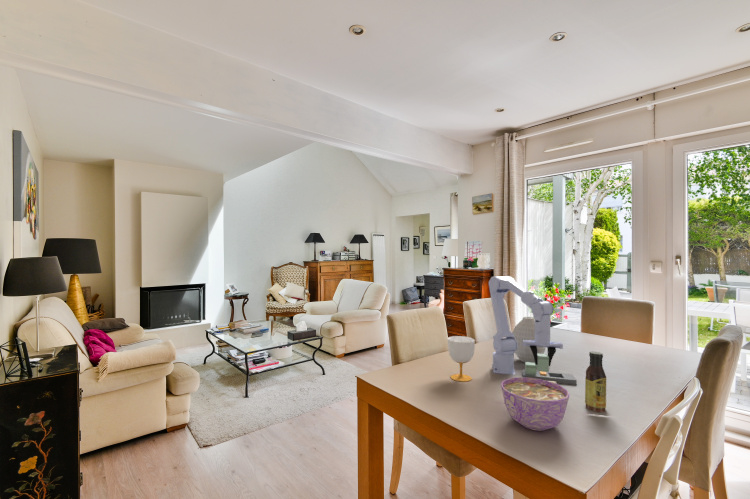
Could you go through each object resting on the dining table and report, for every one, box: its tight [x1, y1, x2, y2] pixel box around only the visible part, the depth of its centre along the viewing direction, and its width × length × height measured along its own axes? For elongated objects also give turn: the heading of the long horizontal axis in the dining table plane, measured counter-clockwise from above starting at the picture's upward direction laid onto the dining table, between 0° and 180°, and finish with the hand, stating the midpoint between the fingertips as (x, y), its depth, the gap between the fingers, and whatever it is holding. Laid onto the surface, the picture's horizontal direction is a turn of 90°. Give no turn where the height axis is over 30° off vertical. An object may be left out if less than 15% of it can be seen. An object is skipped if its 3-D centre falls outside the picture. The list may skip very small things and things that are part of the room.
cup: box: [447, 335, 476, 383], centre depth 155 cm, size 12×12×17 cm
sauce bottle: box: [584, 350, 607, 413], centre depth 124 cm, size 7×6×20 cm
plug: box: [536, 353, 550, 372], centre depth 143 cm, size 4×4×6 cm
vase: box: [511, 316, 547, 364], centre depth 179 cm, size 16×16×22 cm
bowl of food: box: [500, 376, 570, 432], centre depth 113 cm, size 20×20×12 cm
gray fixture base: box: [521, 362, 578, 386], centre depth 152 cm, size 20×8×6 cm, turn 73°
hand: (542, 364), depth 143 cm, fingers closed on plug, 4 cm apart
